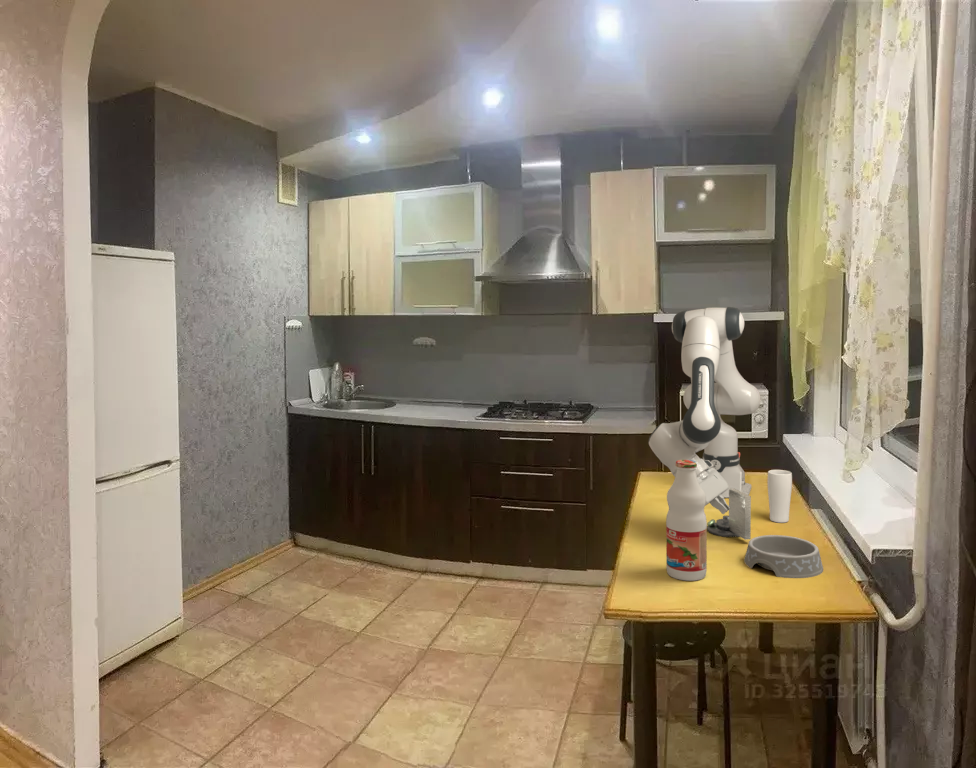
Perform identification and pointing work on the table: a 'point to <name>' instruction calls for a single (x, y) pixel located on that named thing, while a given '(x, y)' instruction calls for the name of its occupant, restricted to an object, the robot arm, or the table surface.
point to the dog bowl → (784, 556)
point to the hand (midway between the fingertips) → (726, 511)
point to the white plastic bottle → (686, 525)
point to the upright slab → (737, 514)
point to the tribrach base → (719, 530)
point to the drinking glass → (779, 494)
